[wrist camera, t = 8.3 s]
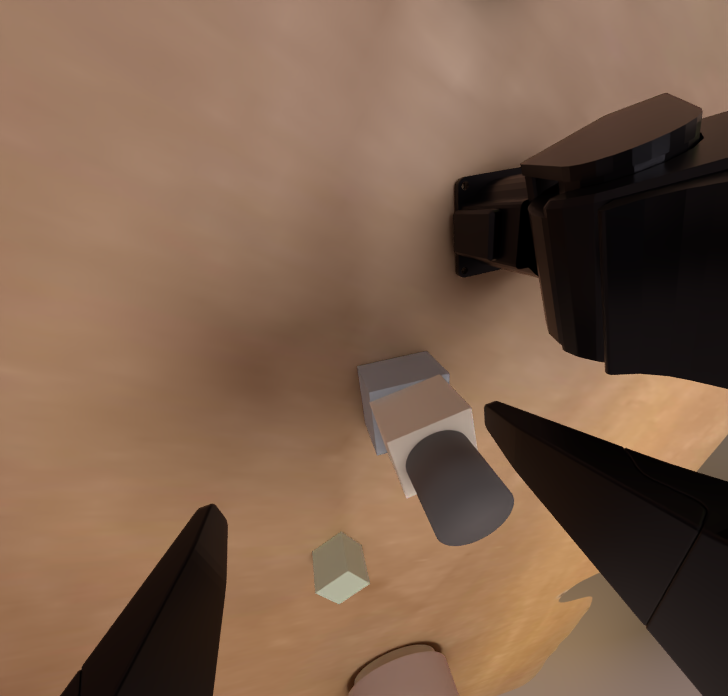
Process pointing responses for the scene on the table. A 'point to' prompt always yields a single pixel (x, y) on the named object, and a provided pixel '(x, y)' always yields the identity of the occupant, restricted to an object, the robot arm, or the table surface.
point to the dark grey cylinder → (457, 488)
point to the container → (406, 674)
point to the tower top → (419, 420)
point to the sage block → (339, 568)
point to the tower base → (393, 384)
